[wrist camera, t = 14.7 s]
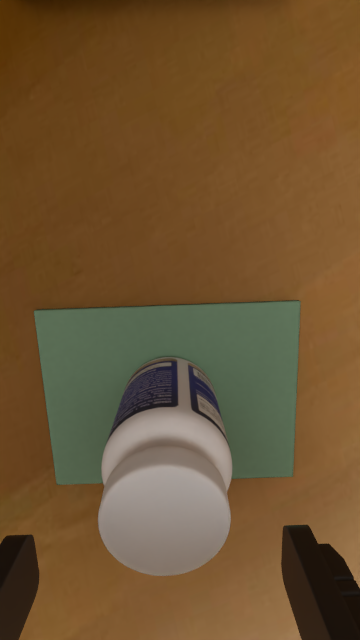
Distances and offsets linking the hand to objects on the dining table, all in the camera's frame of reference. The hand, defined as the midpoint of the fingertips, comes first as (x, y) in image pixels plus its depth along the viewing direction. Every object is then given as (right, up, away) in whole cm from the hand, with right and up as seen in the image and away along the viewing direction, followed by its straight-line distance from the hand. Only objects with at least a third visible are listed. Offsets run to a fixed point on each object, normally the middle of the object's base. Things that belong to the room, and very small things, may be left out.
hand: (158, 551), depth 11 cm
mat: (0, +2, +11) cm, 11 cm away
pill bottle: (0, +2, +11) cm, 11 cm away
